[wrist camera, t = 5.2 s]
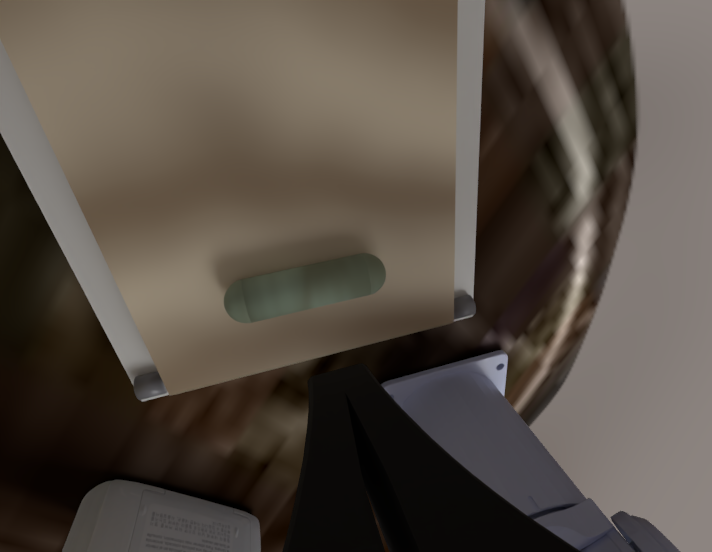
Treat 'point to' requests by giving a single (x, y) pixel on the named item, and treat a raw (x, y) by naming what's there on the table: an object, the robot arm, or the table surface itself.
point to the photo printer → (157, 522)
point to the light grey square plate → (62, 212)
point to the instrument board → (255, 167)
